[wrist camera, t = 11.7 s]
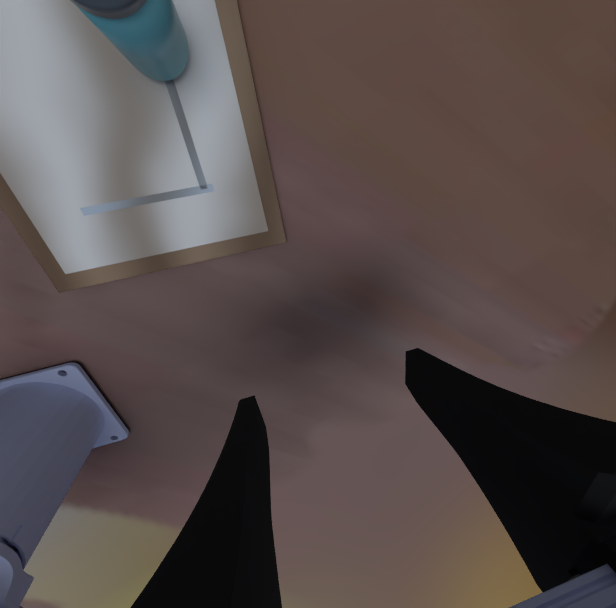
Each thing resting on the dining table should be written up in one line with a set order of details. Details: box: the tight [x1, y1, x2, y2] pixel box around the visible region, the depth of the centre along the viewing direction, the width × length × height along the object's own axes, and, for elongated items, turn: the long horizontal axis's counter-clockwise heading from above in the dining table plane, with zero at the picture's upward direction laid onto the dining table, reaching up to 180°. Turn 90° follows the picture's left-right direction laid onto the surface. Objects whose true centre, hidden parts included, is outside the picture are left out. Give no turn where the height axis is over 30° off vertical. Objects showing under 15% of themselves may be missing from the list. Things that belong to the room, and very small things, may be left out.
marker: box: [70, 0, 189, 81], centre depth 9 cm, size 3×3×6 cm
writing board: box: [0, 0, 286, 293], centre depth 13 cm, size 14×14×1 cm
